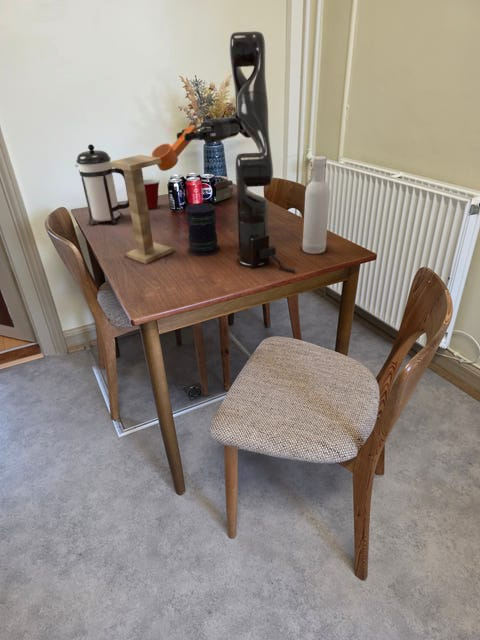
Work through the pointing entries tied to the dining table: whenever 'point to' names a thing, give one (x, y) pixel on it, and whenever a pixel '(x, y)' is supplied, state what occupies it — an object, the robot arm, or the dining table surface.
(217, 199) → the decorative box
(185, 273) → the dining table surface
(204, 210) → the storage jar
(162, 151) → the measuring scoop
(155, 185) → the plastic cup
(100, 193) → the coffee press
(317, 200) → the bottle
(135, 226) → the plant stand
